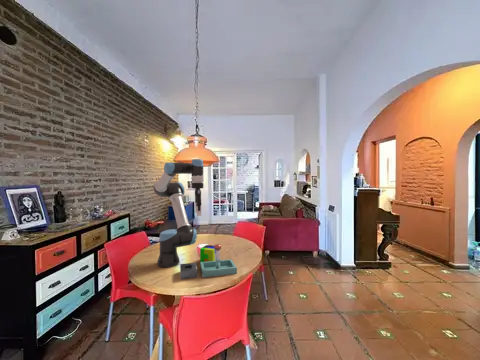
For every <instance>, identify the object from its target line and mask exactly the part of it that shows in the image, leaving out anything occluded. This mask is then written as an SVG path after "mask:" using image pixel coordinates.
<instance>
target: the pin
mask: <svg viewBox="0 0 480 360" xmlns="http://www.w3.org/2000/svg"><path fill="white" fill-rule="evenodd" d="M213 246H214V249H216V269H219V268H220V260H221V249H222V244H219V243H217V244H214V245H213Z"/></svg>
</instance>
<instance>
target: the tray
mask: <svg viewBox="0 0 480 360" xmlns="http://www.w3.org/2000/svg"><path fill="white" fill-rule="evenodd" d="M199 263H200V267H199V268H200V272H201V275H202V276H201V277H202V278H209V277H211V276H212V277H219V275H220V276H229V275H236V273H237V274H238V267H237V265H236V264H235V263H234V261H233V260H232V258H230V259H229V258H228V259H220V268H219V269H216V261H208V262H199Z"/></svg>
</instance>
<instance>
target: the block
mask: <svg viewBox="0 0 480 360" xmlns="http://www.w3.org/2000/svg"><path fill="white" fill-rule="evenodd" d="M179 264H180V265H179V266H180V267H179V268H180V270H179V273H180V275H179V276H180V280H189V279H195V278H198V266H197V262H189V263H186V262H185V263H179Z"/></svg>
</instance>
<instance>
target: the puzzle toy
mask: <svg viewBox="0 0 480 360" xmlns="http://www.w3.org/2000/svg"><path fill="white" fill-rule="evenodd" d="M199 257H200V258H199V260H200V262H208V261H216V249H214V245H210V244H205V245H204V246H203V247H201V248H200V249H199ZM200 262H199V263H200Z"/></svg>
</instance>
